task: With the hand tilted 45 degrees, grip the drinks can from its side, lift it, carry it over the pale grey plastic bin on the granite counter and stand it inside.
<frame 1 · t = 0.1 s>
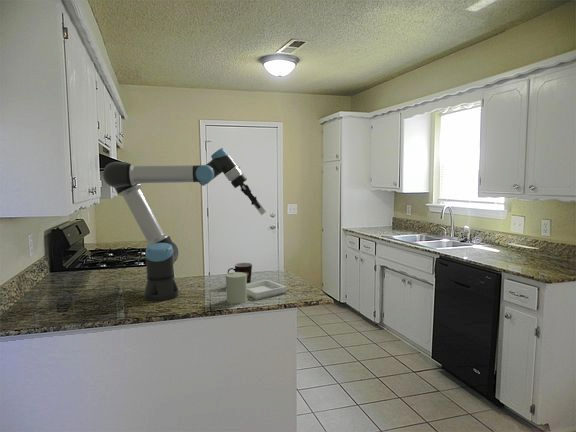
hand: (262, 212, 201), 36 cm above the countertop, tool tilted 35°, fingers open, 13 cm apart
bin: (262, 292, 189), on the countertop
can: (236, 300, 178), on the countertop
coffee mug: (240, 284, 203), on the countertop
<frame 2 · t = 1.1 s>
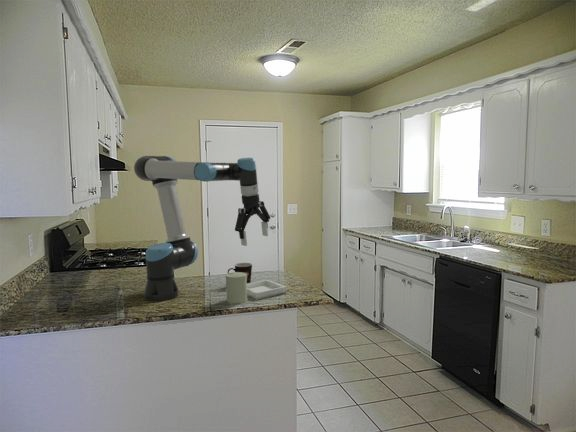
hand: (255, 240, 182), 25 cm above the countertop, tool pointing down, fingers open, 13 cm apart
nothing on the countertop moved.
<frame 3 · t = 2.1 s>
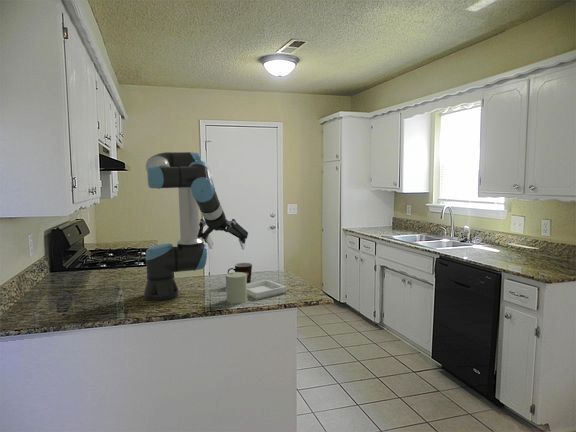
hand: (227, 246, 165), 26 cm above the countertop, tool tilted 45°, fingers open, 13 cm apart
nothing on the countertop moved.
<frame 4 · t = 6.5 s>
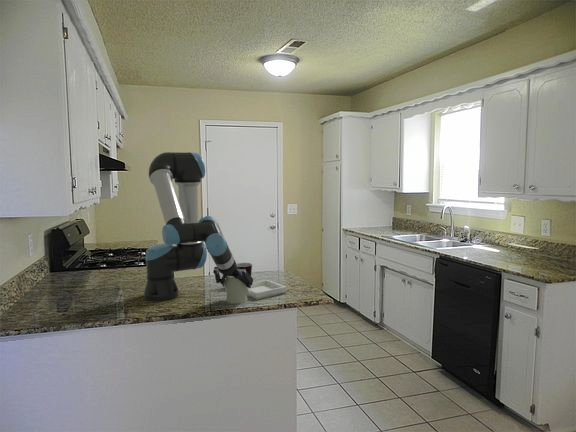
hand: (239, 289, 181), 4 cm above the countertop, tool tilted 45°, fingers closed on can, 9 cm apart
can: (236, 300, 178), on the countertop, touching gripper
everything else where it was.
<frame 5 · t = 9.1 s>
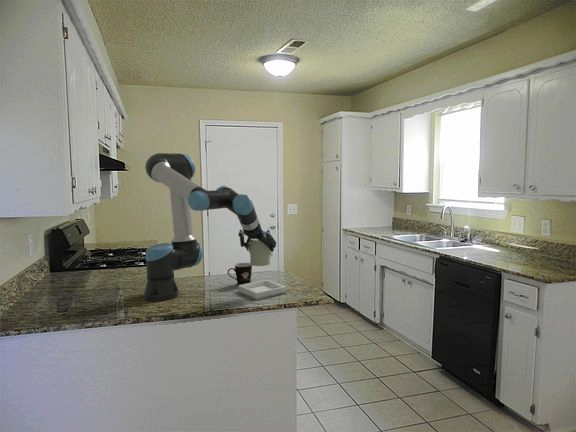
hand: (262, 254, 188), 18 cm above the countertop, tool tilted 45°, fingers closed on can, 9 cm apart
can: (260, 264, 185), point 14 cm above the countertop, touching gripper
everything else where it was.
when the fingers open (6 cm above the countertop, at t = 12.0 s): can drops 1 cm, resting on bin.
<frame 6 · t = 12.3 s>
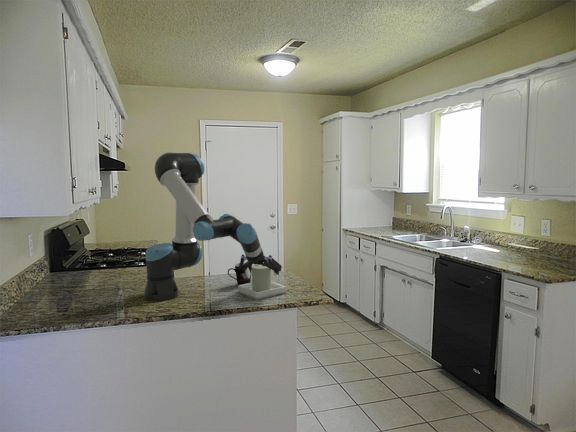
hand: (263, 276, 191), 7 cm above the countertop, tool tilted 45°, fingers open, 13 cm apart
can: (261, 291, 189), point 1 cm above the countertop, touching bin
everything else where it was.
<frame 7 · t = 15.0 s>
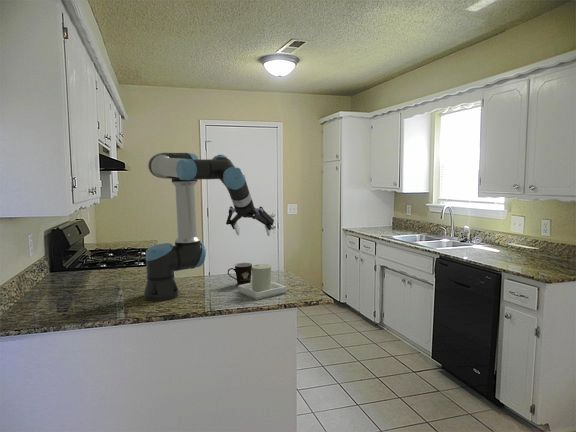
hand: (253, 233, 175), 29 cm above the countertop, tool tilted 45°, fingers open, 13 cm apart
nothing on the countertop moved.
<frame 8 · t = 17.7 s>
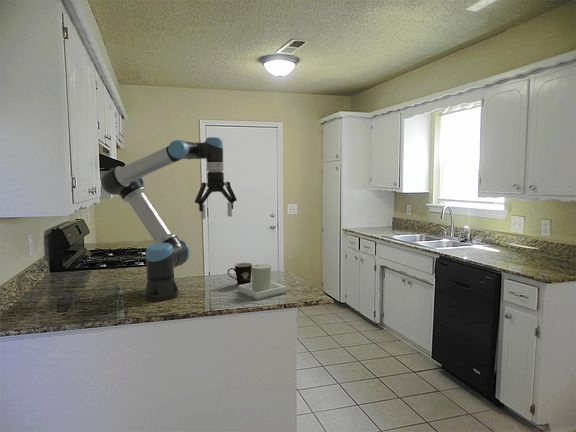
hand: (216, 217, 190), 35 cm above the countertop, tool pointing down, fingers open, 13 cm apart
nothing on the countertop moved.
at the end: can inside the target area on the bin (0.2 cm from its centre), point 0.6 cm above the bin's base; can tilted 0°; the gripper is holding nothing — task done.
